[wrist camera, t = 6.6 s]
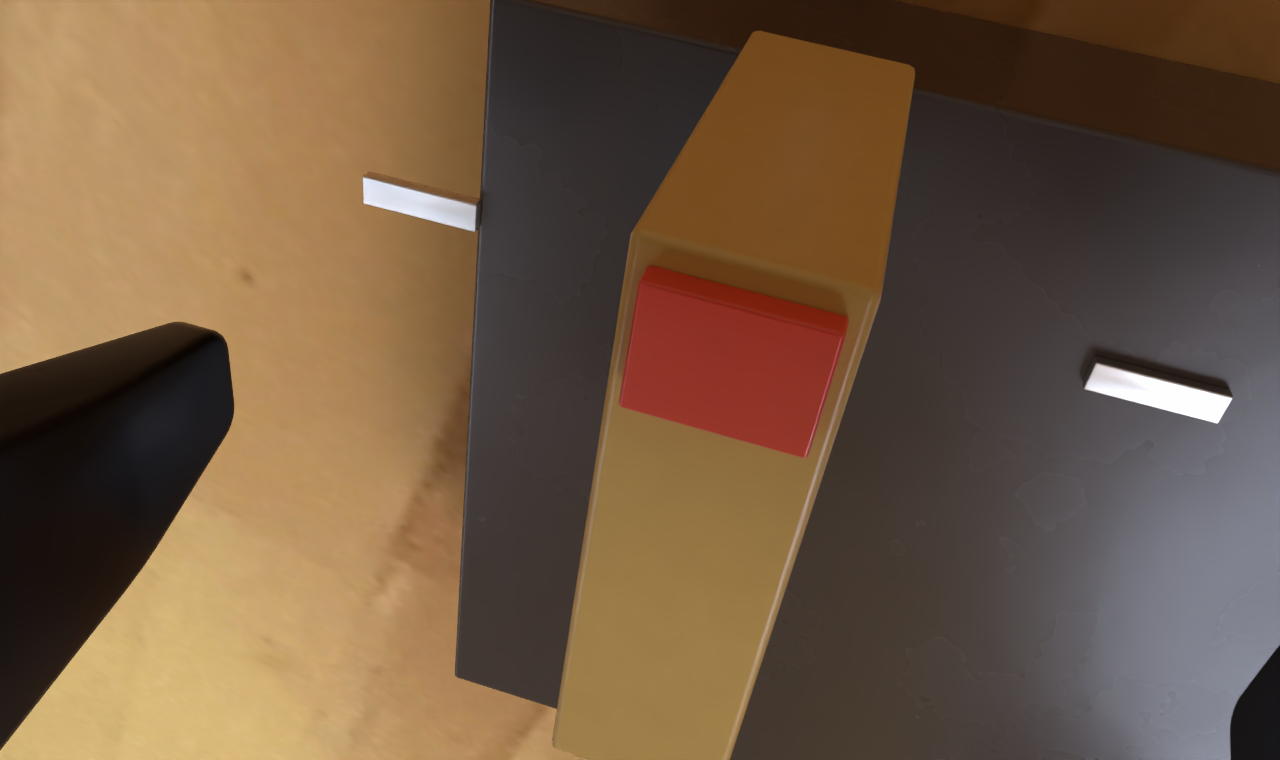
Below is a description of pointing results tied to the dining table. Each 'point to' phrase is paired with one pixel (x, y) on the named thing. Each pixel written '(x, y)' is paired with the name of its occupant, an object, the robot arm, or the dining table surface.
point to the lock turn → (728, 394)
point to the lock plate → (916, 382)
